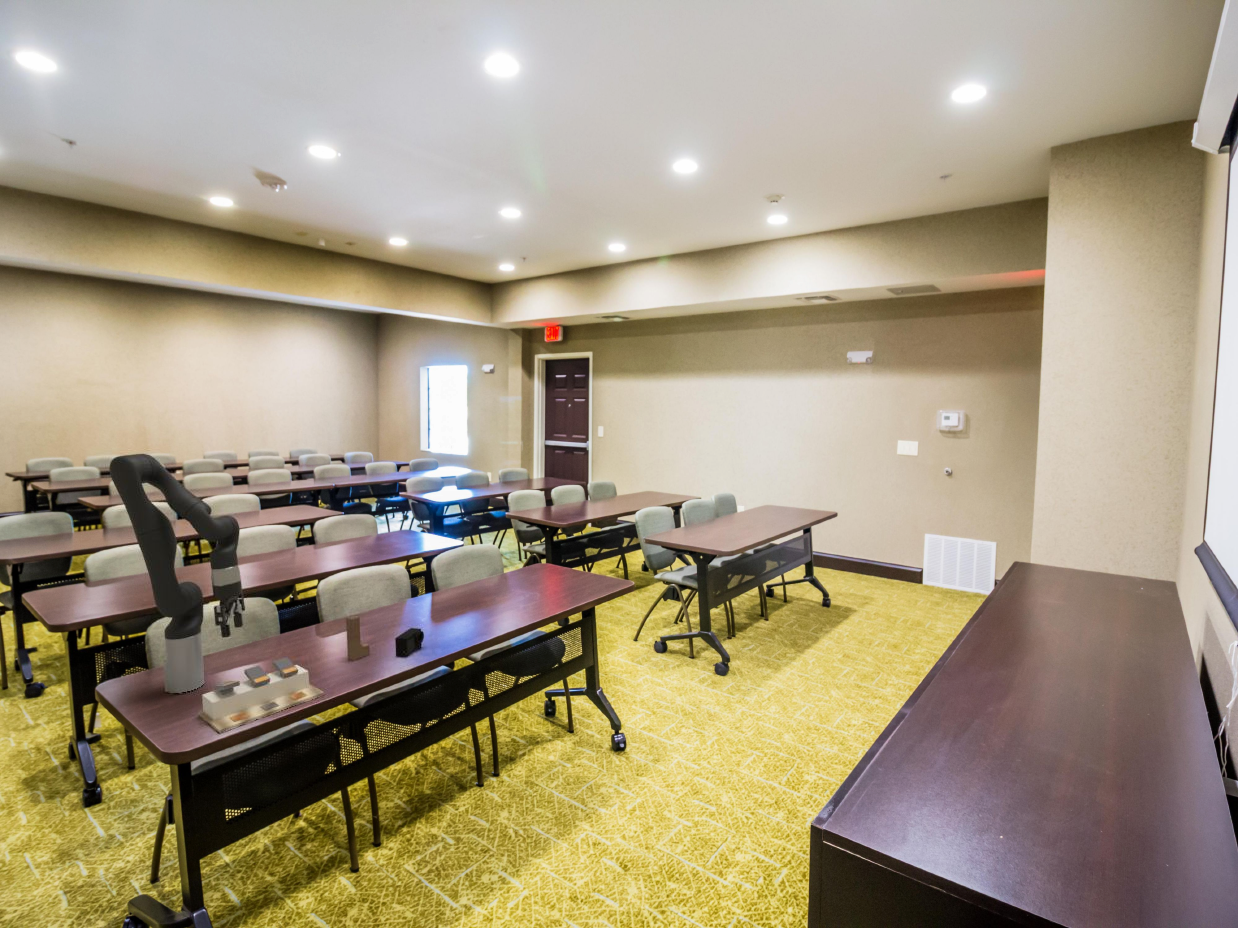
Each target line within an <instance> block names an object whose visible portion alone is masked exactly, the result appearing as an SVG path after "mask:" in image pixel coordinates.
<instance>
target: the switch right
mask: <svg viewBox="0 0 1238 928" xmlns="http://www.w3.org/2000/svg"><path fill="white" fill-rule="evenodd" d="M272 666H273V667H275V669H276V671H279V672H280V673H281V674H282V676H283V677H287V676H290V675H293V674H296V673H298V669H297V668H296V667H295V666H294V663H293V662H292V661H291V659H289V658H288V657H287V656H286V657H283V658H279V659H275V660H272Z"/></svg>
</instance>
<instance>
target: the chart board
mask: <svg viewBox="0 0 1238 928" xmlns="http://www.w3.org/2000/svg"><path fill="white" fill-rule="evenodd" d="M323 695H324V696H325V692H324V691H323V690H321V689H319V688H317V687H316V686H314V685H312V684H311V683H309V687H307V688H304V689H301V690H298V691H295V692H292V693H290V694H287V695H284V696H281V697H278V698H275V699H273V700H270V701H267V702H264V703H261V704H258V705H255V706H253V707H250V708H247V709H244V710H241V711H238V712H235V713H233V714H230V715H227V716H224V717H221V718H218V719H215V720H213V719H212V718H210V717H209V716H208V715H207V714H206V713H204V712H203V710H202V711H198V716H199V715H200V716H201V717H202V718H203V719H205V720H206V721H207V722H208V723H209V724H210V725H211V726H212V727H213V728H212V727H211V726H210V725H209V724H208V723H207V722H206V723H207V724H208V725H209V726H210V727H211V728H212V729H214V730H215V731H216V730H217V731H218V732H219V733H221V734H223V733H225V731H226V732H228V731H227V730H229V731H231V730H233V729H232V728H234V729H236V728H235V727H237V728H239V727H238V726H240V725H242V724H245V723H248V724H250V723H252V722H251V721H253V722H255V721H254V720H256V719H259V720H261V719H263V717H264V718H267V717H269V716H272V715H274V713H275V714H277V713H276V712H278V713H279V711H280V712H282V711H281V710H283V711H285V710H284V709H286V708H288V709H290V708H289V707H291V706H294V707H296V706H295V705H297V704H299V705H301V704H300V703H302V704H304V703H303V702H305V703H307V702H309V701H313V700H315V698H316V699H317V697H318V698H321V697H324V696H323ZM312 699H313V700H312ZM297 706H298V705H297ZM291 708H292V707H291ZM286 710H287V709H286ZM268 715H269V716H268ZM200 716H199V717H200ZM266 716H267V717H266ZM201 717H200V718H201ZM202 718H201V719H202ZM203 719H202V720H203ZM256 721H257V720H256ZM249 722H250V723H249ZM245 725H246V724H245ZM242 726H243V725H242ZM240 727H241V726H240ZM230 729H231V730H230ZM217 731H216V732H217ZM218 732H217V733H218ZM222 732H223V733H222ZM219 733H218V734H219Z"/></svg>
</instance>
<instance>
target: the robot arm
mask: <svg viewBox="0 0 1238 928" xmlns="http://www.w3.org/2000/svg"><path fill="white" fill-rule="evenodd" d="M109 474H110V478H111V480H112V482H113V484H114V485H113V486H114V487H115V489H116V490H117V491H116V492H117V493H118V495H119V497H120V498H121V500H122V503H123V505H124V507H125V509H126V512H127V516H128V517H129V520H130V523H131V525H132V528H133V532H134V536H135V538H136V541H137V544H138V546H139V548H140V551H141V554H142V557H143V560H144V563H145V566H146V570H147V571H148V576H149V579H150V585H151V589H152V593H153V600H154V602H155V606H156V609H157V610H158V611H159V613H160V614H161V615H162V616H163V617H166V618H168V619H169V618H170V619H171V620H170V622H169V623H168V624H167V626H166V627H165V628H164V644H165V646H164V647H165V658H166V660H165V661H163V663H162V664H163V680H164V692H165V693H166V692H168V693H169V694H173V693H179V694H183V693H182V692H186V693H188V692H187V691H190V692H192V691H191V690H193V691H195V690H194V689H196V690H198V689H200V688H202V687H203V686H204V685H205V674H204V672H205V671H204V659H203V658H204V657H203V656H204V655H203V641H202V624H203V622H204V595H203V592H202V589H201V587H200V586H199V585H198V584H197V583H196V582H192V581H182V582H180V583H179V581H178V577H177V574H176V569H175V561H176V556H177V549H178V548H177V547H178V541H177V536H176V534H175V530H174V528H173V525H172V522H171V520H170V519H169V518H168V516H167V515H166V514H165V513H164V512H162V511H161V510H160V509H159V508H158V507H157V506H156V505H155V504H154V503H152V501H151V500H150V498H149V497H148V496H147V493H146V491H145V489H144V485H143V484H149V485H151V486H152V487H154V488H156V489H157V490H159V491H160V492H161V493H162V495H163V496H164V498H165V502H166V504H167V505H168V507H170V509H171V510H172V511H173V512H174V513H175V514H177V515H178V516H180V517H181V518H183V519H184V520H185V521H187V522H188V523H189V524H190V525H191V527H192V528H193V529H194V531H196V533H197V534H198V535H199V536H200V537H201V538H202V539H203V540H206V541H208V542H211V543H215V542H217V543H216V546H215V547H214V548H212V550H211V551H210V552H209V562H210V563H209V564H210V571H211V572H210V580H211V585H212V586H211V587H212V588H211V589H212V595H213V598H214V599H216V600H219V605H214V606H213V612H214V625H215V626H217V627H218V626H219V627H220V633H221V635H220V636H221V637H222V638H229V637H230V636H231V626H230V620H231V618H233V624H234V625H233V627H234V628H235V629H236V628H242V627H243V626H244V621H243V614H244V612H245V611H246V605H245V599H244V598H245V597H244V593H243V585H242V576H241V570H240V567H239V560H238V554H237V550H238V546H239V538H240V524H239V522H238V520H237V519H236V517H234V516H232V515H227V514H226V515H221V516H218V517H213V516H211V514H212V508H211V506H210V505H209V504H208V503H206V502H205V501H204V500H202V499H201V498H200V497H198V496H196V495H195V494H194V493H192V492H191V491H189V490H188V488H186V487H185V486H183V484H182V483H180V481H178V480H177V479H176V478H175V477H174V476H173V475H172V474H171V473H170V471H169V470H167V469H166V468H165V467H164V466H163V464H161V463H160V461H158V460H157V459H156V458H155V457H153V455H151V454H147V453H136V454H135V453H134V454H128V455H127V454H124V455H119V456H115V457H114V458H113V459H112V460H111V461H110V463H109ZM203 684H204V685H203ZM202 685H203V686H202ZM201 686H202V687H201ZM199 687H200V688H199ZM197 688H198V689H197Z"/></svg>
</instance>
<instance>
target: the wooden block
mask: <svg viewBox="0 0 1238 928" xmlns="http://www.w3.org/2000/svg"><path fill="white" fill-rule="evenodd" d="M345 623H346V644H347V645H346V646H347V647H346V648H347V659H348V660H350V661H352V662H353V661H356V660H359V659H361V658H365V657H368V656H369V655H370V654H371V652H370V644H367V643H365V642H364V643H362V642H361V641H362V640H361V623H360V616H358V615H355V614H353V615H350V616H347V617H345Z"/></svg>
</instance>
